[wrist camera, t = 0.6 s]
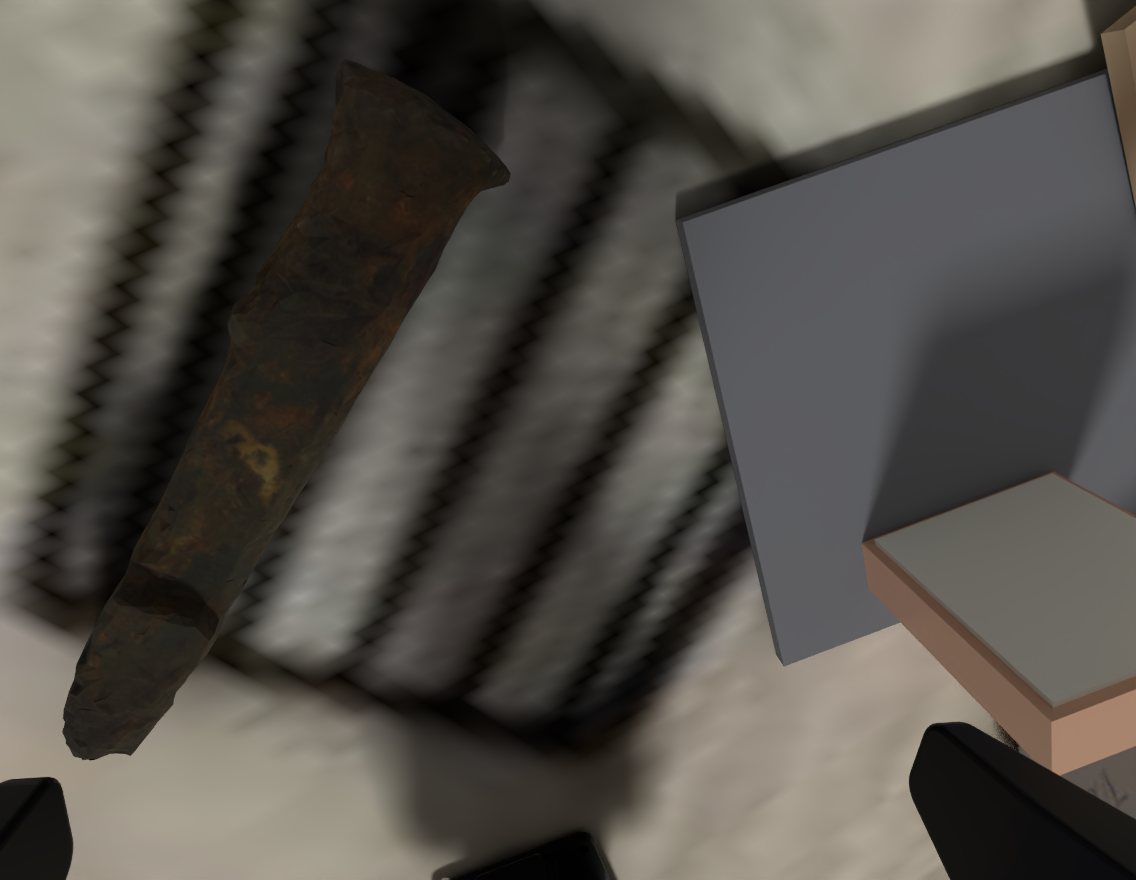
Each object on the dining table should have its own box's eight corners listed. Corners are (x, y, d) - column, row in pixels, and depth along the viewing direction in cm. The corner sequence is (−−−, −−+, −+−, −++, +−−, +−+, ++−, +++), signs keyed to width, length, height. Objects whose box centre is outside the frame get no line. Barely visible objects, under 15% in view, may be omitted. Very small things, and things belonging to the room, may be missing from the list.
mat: (1127, 522, 26) (1142, 530, 26) (776, 655, 26) (783, 666, 25) (1150, 53, 20) (1171, 50, 19) (675, 219, 19) (682, 222, 18)
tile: (1053, 519, 25) (1311, 677, 18) (868, 588, 25) (1051, 778, 17) (1053, 466, 24) (1325, 610, 17) (860, 538, 24) (1051, 716, 16)
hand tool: (367, 53, 17) (342, 24, 12) (509, 161, 18) (531, 167, 14) (38, 639, 21) (-65, 765, 17) (173, 688, 22) (110, 817, 18)
